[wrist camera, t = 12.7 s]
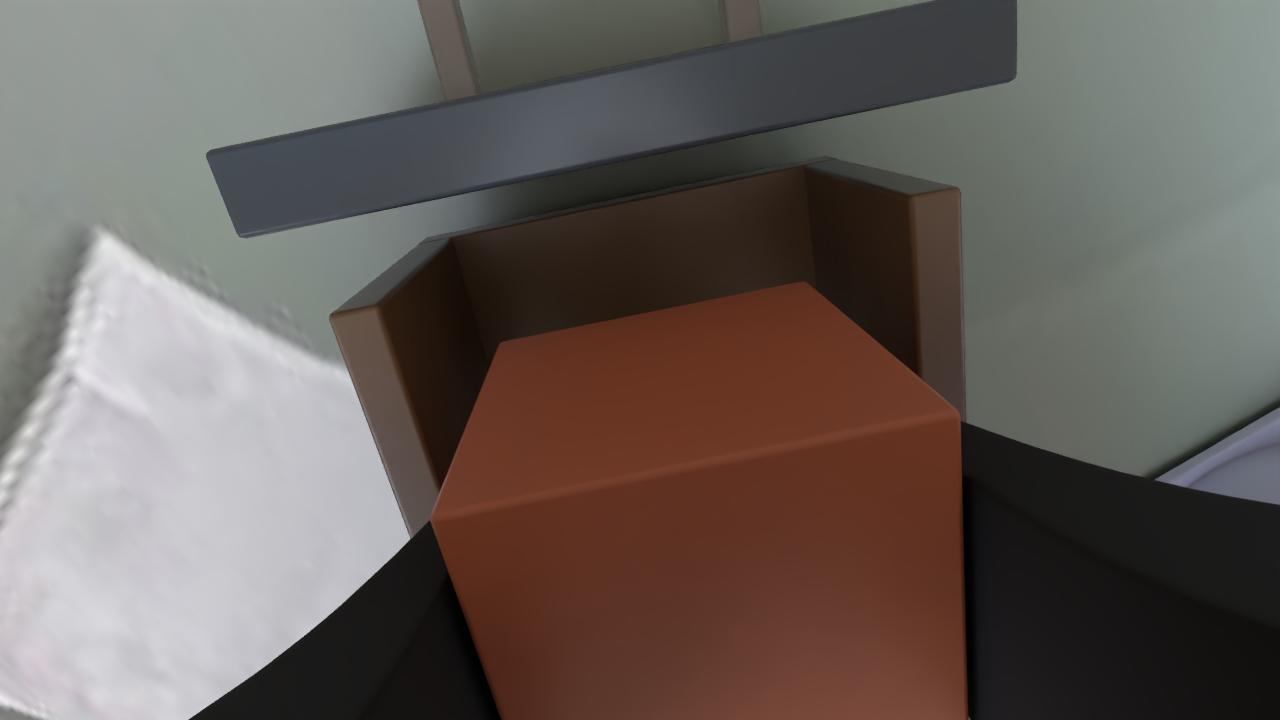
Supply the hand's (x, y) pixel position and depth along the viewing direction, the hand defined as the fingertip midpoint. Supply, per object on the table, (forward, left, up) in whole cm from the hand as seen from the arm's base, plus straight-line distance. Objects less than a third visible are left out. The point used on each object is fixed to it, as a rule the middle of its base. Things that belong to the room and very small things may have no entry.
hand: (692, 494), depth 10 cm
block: (0, 0, -1) cm, 1 cm away
